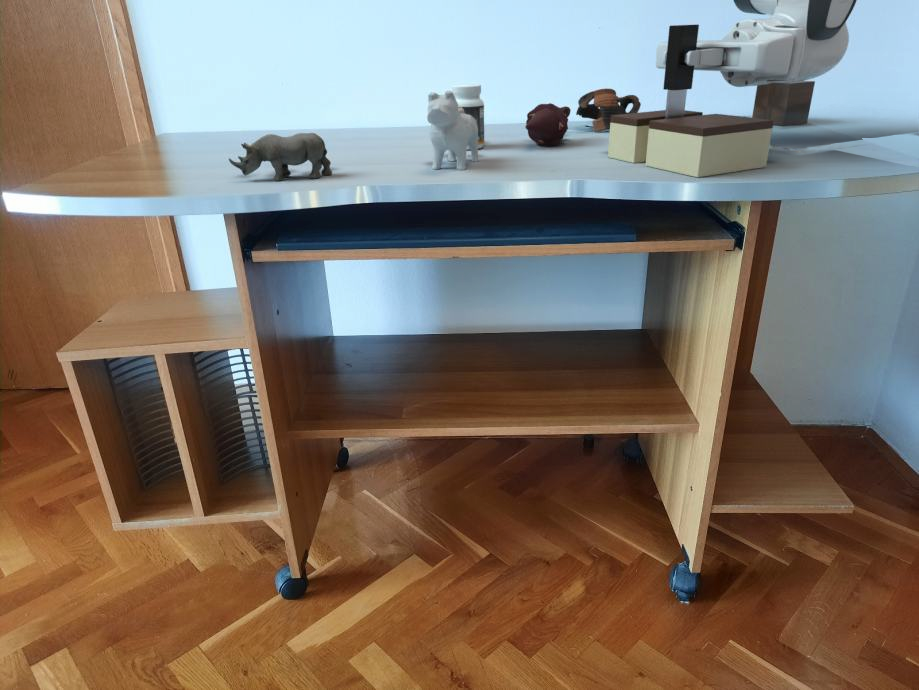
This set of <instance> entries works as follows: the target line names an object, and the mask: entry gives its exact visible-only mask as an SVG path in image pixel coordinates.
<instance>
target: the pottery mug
mask: <svg viewBox="0 0 919 690" xmlns="http://www.w3.org/2000/svg"><path fill="white" fill-rule="evenodd" d="M591 101H593V103H591ZM577 103H578V107H577V110H576V112H575V115H576V116H579V117H581V118H583V119H590V120H592V121H591V122H592V123H591V124H592V127H593V131H594V133H597V132H598V133H599V132H601V131H605V130H610V123H611V122H610V120H611V115H620V114H630V113H639V112H640V109H641V104H642V103H641V101H640V98H639V97H638V96H637V95H634V94H628V95H624V96H621V97H619V96H618V95H617V92H616V90H615V89H613V88H600V89H596V90H593V91H589V92H587V93H585V94H583V95H582V96H580V98H579V99H578V101H577ZM630 104H632V107H631V108H630V110H629V111H628V112H627V108H628V106H629V105H630Z"/></svg>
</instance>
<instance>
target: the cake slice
mask: <svg viewBox="0 0 919 690" xmlns="http://www.w3.org/2000/svg"><path fill="white" fill-rule="evenodd" d="M665 112H666V109H662V110H661V109H660V110H653V111H639V112H638V113H630V114H620V115H611V120H610V122H611V123H610V129H609V138H608V151H607V152H608V153H607V157H608V158H609V159H614V160H619V161H623V162H626V163H627V162H628V163H632V164H637V163H646V155H647V144H648V133H649V122H650V121H652V120H662V119H665ZM699 115H704V112H702V111H695V110H686V109H685V112H684V117H690V116H699Z"/></svg>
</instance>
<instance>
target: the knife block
mask: <svg viewBox="0 0 919 690" xmlns="http://www.w3.org/2000/svg"><path fill="white" fill-rule="evenodd" d="M815 84H816V81H815V80H804V81H798V82H790V83H777V82H773V83H771V84H767V85H758V86H756V91H755V97H754V103H753V109H752V116H751V118H759V119H768V120H774V123H773V127H783V128H784V127H792V126H801V125H807V124H808V120H809V115H810V110H811V105H812V100H813V99H812V98H813V94H814V89H815Z"/></svg>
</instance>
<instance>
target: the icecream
mask: <svg viewBox="0 0 919 690" xmlns="http://www.w3.org/2000/svg"><path fill="white" fill-rule="evenodd" d="M570 115H571V108H570V107H569V106H567V105H565V106H561V107H559V106H557V105H555V104H554V103H551V102H550V103H539V104H538V105H536V106H535V107H534V108H533V109H531V110H530V111H529V112H528V113H527V114H526V117H527V118H526V122H525V129H526V130H527V134H528V138H529V139H530V140H531V141H532V142H534V143H535V144H537V145H538V146H539V147H554V146H555V145H557V143H558V142H560V141H562V140H563V139H564V137H565V134H566V133H567V131H568V130H569V126H568V122H569V116H570Z"/></svg>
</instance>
